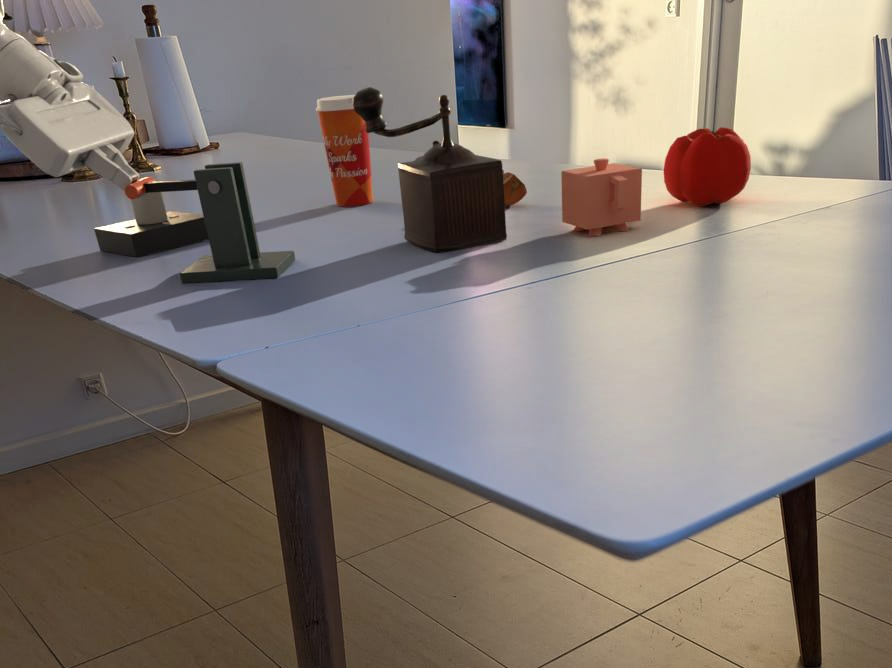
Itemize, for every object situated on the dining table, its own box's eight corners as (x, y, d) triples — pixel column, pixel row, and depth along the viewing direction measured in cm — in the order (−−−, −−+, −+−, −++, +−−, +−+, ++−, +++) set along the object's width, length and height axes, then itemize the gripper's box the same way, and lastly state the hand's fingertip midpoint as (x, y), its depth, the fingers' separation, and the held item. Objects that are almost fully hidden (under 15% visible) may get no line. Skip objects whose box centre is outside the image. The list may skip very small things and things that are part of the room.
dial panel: (136, 257, 126) (130, 232, 124) (100, 250, 132) (93, 227, 130) (215, 237, 133) (210, 214, 132) (177, 232, 139) (172, 209, 137)
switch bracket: (181, 283, 111) (155, 175, 104) (205, 265, 118) (182, 164, 111) (277, 277, 110) (257, 168, 103) (295, 260, 117) (277, 157, 110)
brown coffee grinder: (470, 227, 126) (459, 75, 116) (509, 240, 118) (500, 77, 108) (366, 246, 121) (345, 88, 111) (398, 260, 113) (378, 91, 102)
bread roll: (535, 207, 135) (534, 170, 132) (492, 213, 133) (490, 176, 131) (515, 199, 142) (513, 163, 139) (474, 205, 140) (471, 169, 137)
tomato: (673, 195, 135) (676, 125, 130) (756, 195, 130) (762, 123, 125) (652, 209, 127) (654, 136, 122) (738, 210, 123) (745, 134, 118)
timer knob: (145, 225, 128) (137, 192, 126) (131, 223, 131) (122, 190, 128) (173, 220, 131) (165, 186, 128) (158, 217, 133) (150, 185, 131)
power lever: (127, 203, 107) (121, 181, 106) (146, 194, 112) (141, 173, 111) (227, 198, 106) (223, 175, 105) (242, 189, 111) (238, 167, 110)
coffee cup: (321, 208, 147) (305, 101, 139) (341, 198, 154) (326, 96, 145) (370, 207, 145) (356, 98, 137) (387, 197, 152) (375, 93, 143)
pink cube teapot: (601, 218, 125) (602, 150, 121) (649, 231, 116) (651, 159, 111) (551, 226, 123) (549, 158, 118) (595, 241, 114) (595, 167, 109)
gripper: (-8, 75, 94) (110, 176, 99) (78, 63, 111) (176, 150, 115) (-33, 127, 97) (83, 222, 102) (55, 107, 114) (151, 190, 118)
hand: (133, 183), depth 109 cm, fingers closed, pressing on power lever
